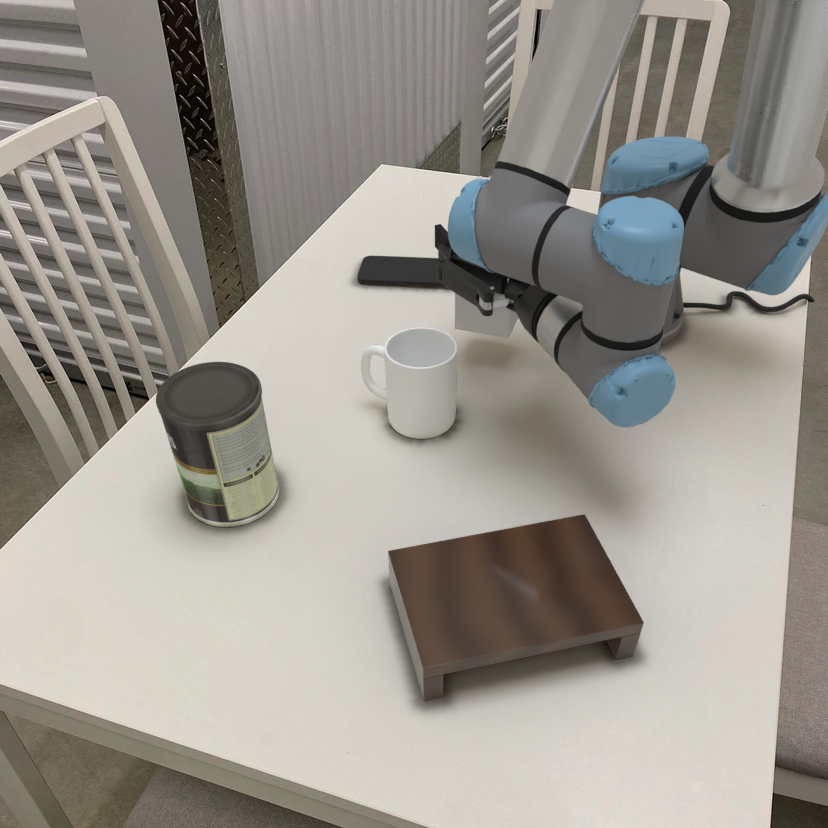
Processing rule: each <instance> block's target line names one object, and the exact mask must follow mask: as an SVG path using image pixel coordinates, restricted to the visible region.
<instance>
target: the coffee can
mask: <svg viewBox="0 0 828 828" xmlns="http://www.w3.org/2000/svg"><path fill="white" fill-rule="evenodd" d="M262 388H263V387H262V383H261V381H260V378H259V377H258V375H257V374H256V373H255V372H253V371H252V370H251V369H249V368H248V367H246V366H244V365H241V364H239V363H234V362H228V361H211V362H210V361H209V362H202V363H201V362H200V363H197V364H193V365H190V366H187V367H185V368H183V369H180V370H178V371H176V372H175V373H173V374H172V375H170V376H169V377H168V378H166V379H165V380H164V381H163V382H162V383H161V384H160V386H159V388H158V389H157V392H156V395H155V403H156V404H155V405H156V408H157V410H158V413H159V414H160V416H161V420H162V423H163V427H164V430H165V433H166V437H167V440H168V443H169V446H170V449H171V453H172V455H173V459H174V462H175V465H176V468H177V472H178V475H179V478H180V482H181V485H182V488H183V489H182V490H183V491H184V496H185V498H186V503H187V504H186V505H187V507H188V510H189V511H190V513H191V514H192V515H193V517H195V519H197V521H198V520H199V521H201V522H202V523H203V524H206V525H209V526H213V527H218V528H219V527H220V528H232V527H239V526H244V525H248V524H250V523H253V522H255V521H257V520H259V519H260V518H262V517H263V516H265V515H266V514H267V513H269V512H270V511H271V509H272V508H273V507H274V506H275V505H276V503H277V501H278V499H279V496H280V485H279V484H280V483H279V481H278V477H277V472H276V466H275V461H274V456H273V451H272V445H271V438H270V433H269V428H268V423H267V418H266V413H265V407H264V401H263V396H262V395H263V389H262Z"/></svg>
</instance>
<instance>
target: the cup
mask: <svg viewBox="0 0 828 828" xmlns="http://www.w3.org/2000/svg"><path fill="white" fill-rule="evenodd" d="M458 352H459V347H458V342H457V341H456V339H455V338H454V337H453V336H452V335H451V334H449V333H448V332H446V331H444V330H441V329H438V328H433V327H427V326H417V327H409V328H405V329H403V330H400V331H398V332H396V333H393V334H392V335H391V336H390V337H389V338H388V339H387V340H386V341H385V344H384V345H381V344H371V345H368V346H367V347H365V349H364V350H363V352H362V355H361V360H360V372H361V377H362V379H363V383H364V385H365V387H366V388H367V390H368V391H369V392H370V393H371V394H373V395H374V396H376V397H377V398H380V399H382V400H384V401H386V409H387V418H388V422H389V424H390V425H391V427H392V428H393V429H394V430H395V432H397V433H398V434H400V435H402V436H404V437H407V438H411V439H418V440H424V439H425V440H426V439H427V440H428V439H432V438H436V437H439V436H441V435H443V434H444V433H446V432H448V431H449V430H450V429H451V427H452V426H453V424H454V423H455V420H456V415H457V395H458V394H457V392H458V391H457V389H458V388H457V387H458ZM373 356H377V357H380V358H382V359H384V372H385V374H384V375H385V388H384V387H383V386H382V387H381V386H379V385H378V384H377V383H376V382H375V381H374V379H373V377H372V374H371V360H372V357H373Z"/></svg>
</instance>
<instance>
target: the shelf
mask: <svg viewBox="0 0 828 828" xmlns="http://www.w3.org/2000/svg"><path fill="white" fill-rule="evenodd" d="M387 557H388V575H389V586H390V590H391V593H392V596H393V600H394V603H395V607H396V610H397V613H398V617H399V621H400V624H401V628H402V631H403V634H404V638H405V642H406V645H407V648H408V651H409V654H410V660H411V662H412V666H413V669H414V673H415V676H416V679H417V683H418V687H419V690H420V693H421V697H422V700H423V701H429V700H433V699H438V698H442V697H444V675H447V674H452V673H457V672H461V671H467V670H471V669H475V668H481V667H485V666H490V665H495V664H500V663H503V662H504V663H505V662H508V661H513V660H514V661H515V660H519V659H524V658H527V657H532V656H538V655H541V654H546V653H552V652H556V651H561V650H565V649H566V650H567V649H570V648H575V647H580V646H584V645H590V644H594V643H598V642H603V641H606V643H607V645H608V647H609V649H610V650H611V653H612V655H613V657H614V659H615V660H621V659H624V658H629V657H634V656H635V653H636V650H637V646H638V643H639V640H640V637H641V633H642V631H643V627H644V624H645V623H644V620H643V618H642V616H641V615H640V613H639V611H638V609H637V607H636V605H635V604H634V601H633V600H632V598H631V596H630V594H629V593H628V590H627V589H626V587H625V585H624V583H623V581H622V580H621V578H620V576H619V574H618V572H617V571H616V569H615V567H614V565H613V563H612V561H611V560H610V558H609V556H608V554H607V552H606V550H605V549H604V547H603V545H602V542H601V541H600V539H599V538H598V536H597V533H596V532H595V530H594V528H593V526H592V525H591V523H590V520H589V519H588V517H587V515H586V513H583V514H579V515H578V514H577V515H572V516H568V517H562V518H556V519H551V520H546V521H540V522H536V523H535V522H534V523H530V524H525V525H519V526H514V527H508V528H504V529H503V528H502V529H498V530H492V531H487V532H481V533H476V534H471V535H465V536H459V537H455V538H454V537H453V538H448V539H444V540H439V541H432V542H428V543H422V544H417V545H412V546H406V547H402V548H401V547H400V548H396V549H391V550H387Z"/></svg>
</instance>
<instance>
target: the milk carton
mask: <svg viewBox="0 0 828 828" xmlns="http://www.w3.org/2000/svg"><path fill="white" fill-rule="evenodd" d="M490 178H491V175H489V176H488V177H487V178H486V179H488V180H490ZM475 179H482V180H485V179H484V178H483V176H482V175H479V176H477V177H476V178H475ZM508 281H509V278H508ZM507 284H508V283H507ZM518 320H519V317H518V315H517V314H516V313H515V312H514V311H512V310H509V309H507V308H506V307H505V306H504V307H499V308H494V309H493V314H492V315H491V316H483V315H482V314H481V312H480V311H479V309H478V308H477V306H475V305H473V304H472V303H470V302H469V301H467V300H466V299H464V298H462V297H461V296H459V295H458V294H456V293H455V292H454V330H459V331H463V332H470V333H476V334H481V335H488V336H494V337H500V338H505V339H509V338H510V337H511V334H512V333H513V330H514V328H515V325H516V324H517V321H518Z"/></svg>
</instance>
